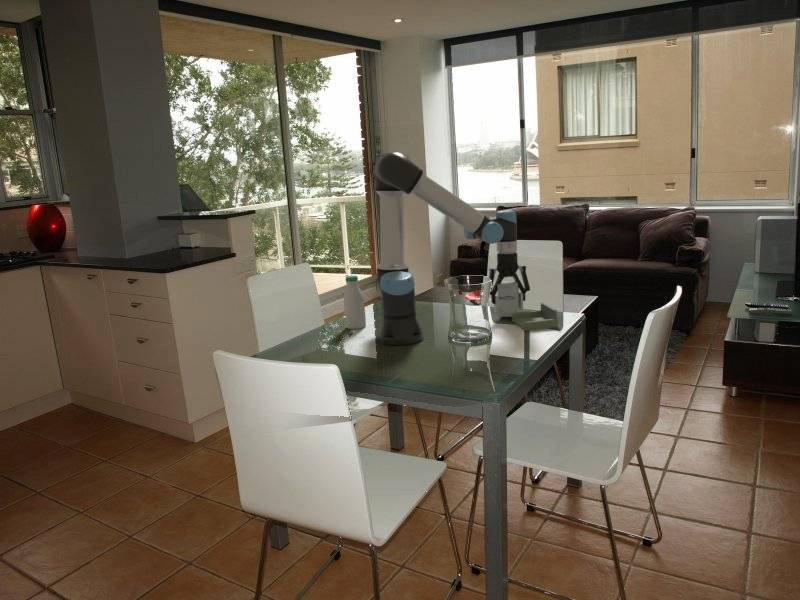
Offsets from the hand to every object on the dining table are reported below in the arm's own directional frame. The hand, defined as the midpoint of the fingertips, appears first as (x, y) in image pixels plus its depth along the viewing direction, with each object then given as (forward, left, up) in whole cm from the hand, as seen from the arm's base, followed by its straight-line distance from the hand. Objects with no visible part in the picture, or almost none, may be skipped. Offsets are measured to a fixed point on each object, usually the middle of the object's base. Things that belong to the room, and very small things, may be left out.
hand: (508, 310), depth 247 cm
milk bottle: (-58, +12, -3) cm, 59 cm away
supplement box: (0, 0, -2) cm, 2 cm away
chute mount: (+5, -13, -3) cm, 14 cm away
